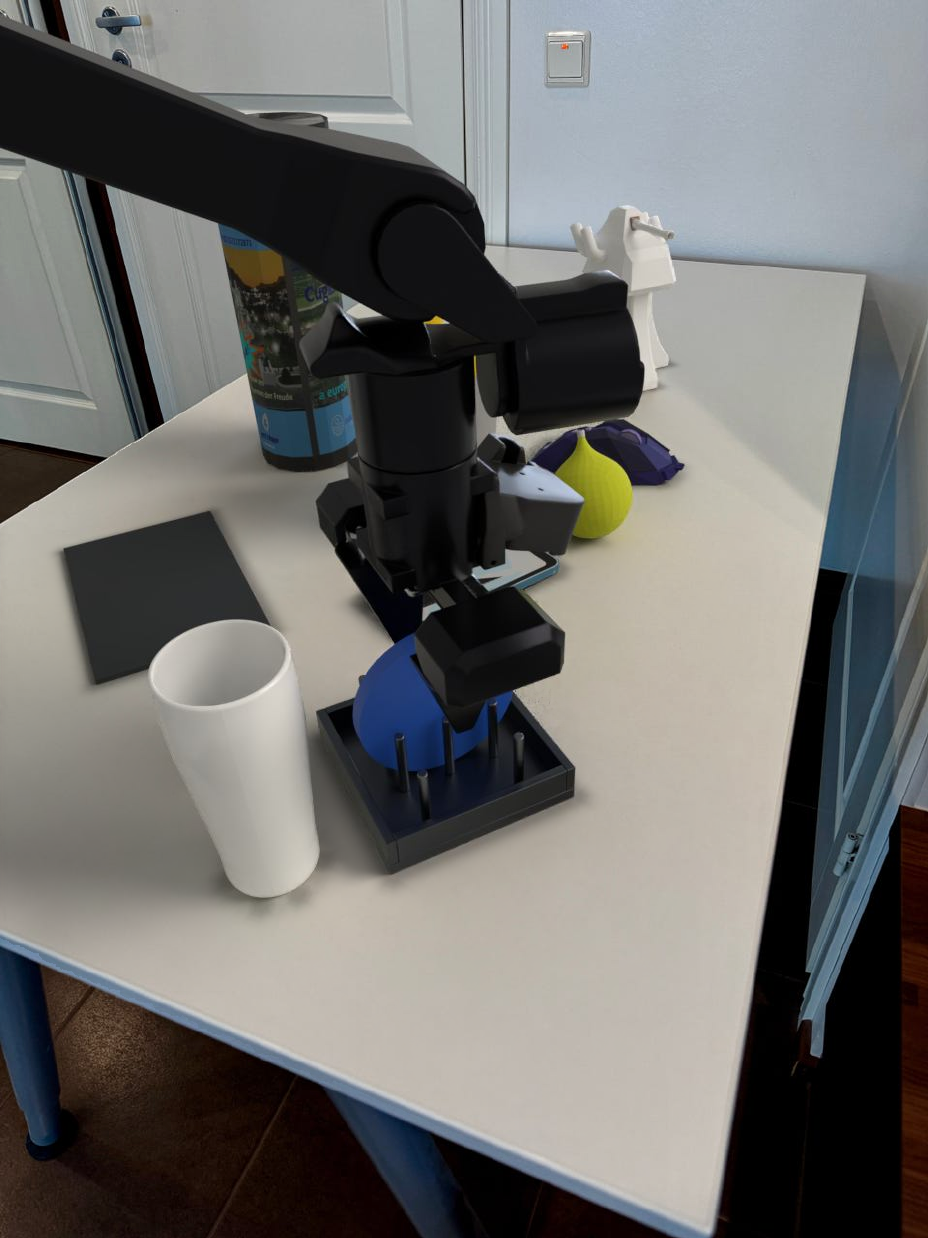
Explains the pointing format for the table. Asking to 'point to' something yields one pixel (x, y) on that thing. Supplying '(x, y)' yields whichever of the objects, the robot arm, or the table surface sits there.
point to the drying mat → (154, 590)
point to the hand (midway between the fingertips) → (436, 690)
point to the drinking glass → (241, 748)
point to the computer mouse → (616, 451)
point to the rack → (448, 783)
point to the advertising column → (287, 348)
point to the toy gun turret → (633, 271)
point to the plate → (408, 713)
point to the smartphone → (509, 574)
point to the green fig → (596, 490)
